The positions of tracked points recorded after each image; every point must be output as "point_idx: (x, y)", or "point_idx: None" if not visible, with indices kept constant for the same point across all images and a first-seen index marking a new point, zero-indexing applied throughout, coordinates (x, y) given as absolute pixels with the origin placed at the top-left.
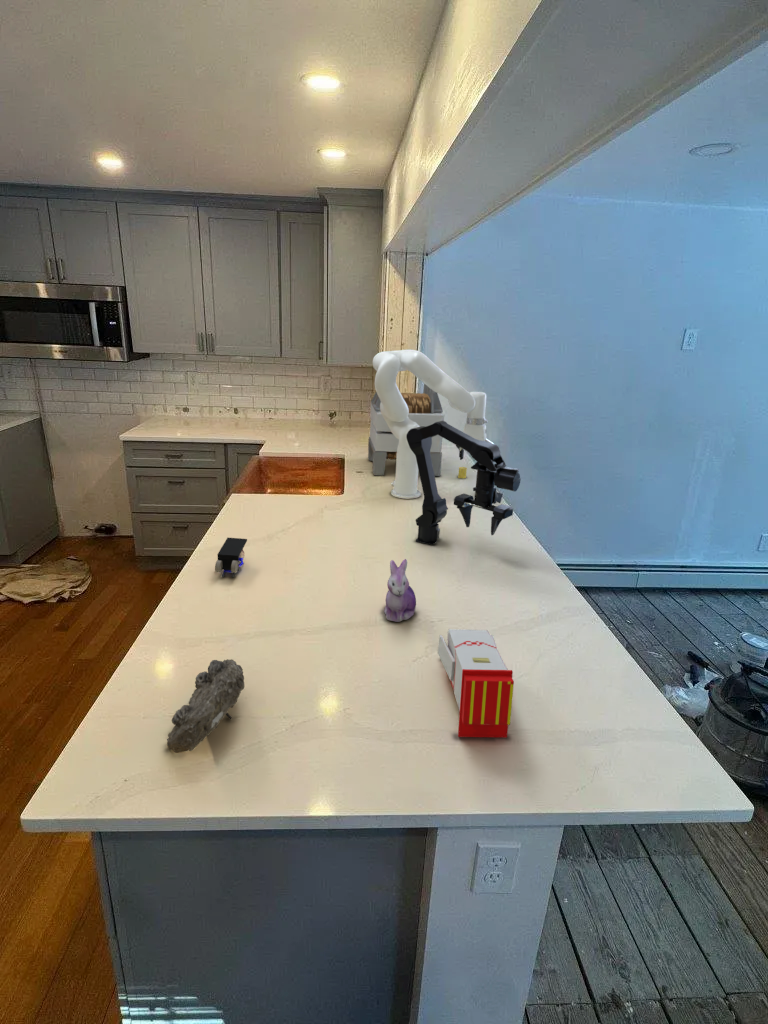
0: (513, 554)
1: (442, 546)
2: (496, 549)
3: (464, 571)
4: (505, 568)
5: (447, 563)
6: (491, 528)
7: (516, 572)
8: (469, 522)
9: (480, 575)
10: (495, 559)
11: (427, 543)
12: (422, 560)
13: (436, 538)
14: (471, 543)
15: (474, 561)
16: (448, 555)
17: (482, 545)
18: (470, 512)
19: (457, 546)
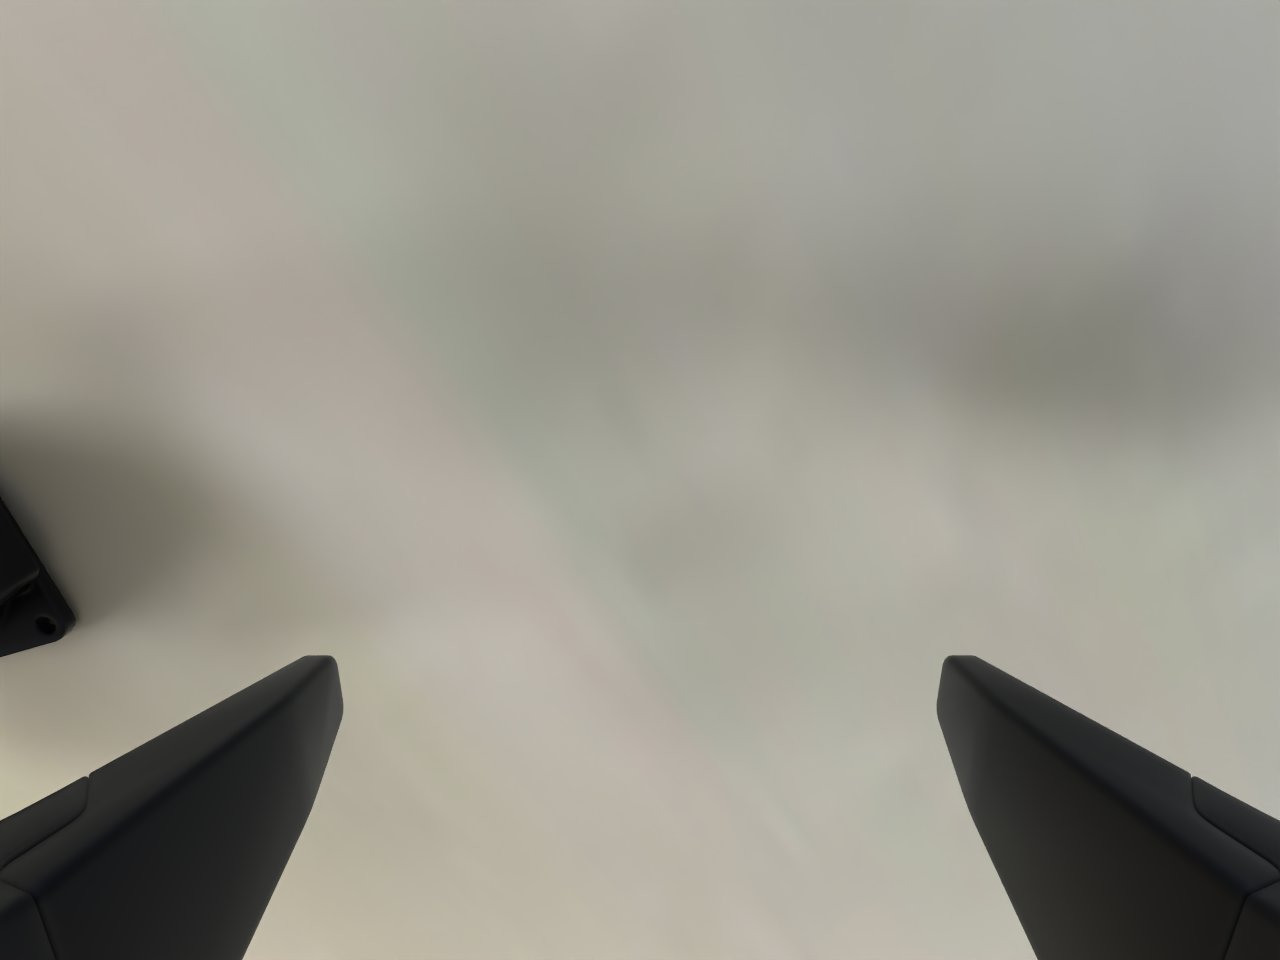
0: (1021, 50)
1: (167, 561)
2: (727, 77)
3: (759, 881)
4: (1084, 553)
5: (531, 857)
6: (1029, 909)
7: (1232, 556)
8: (292, 733)
9: (925, 851)
10: (878, 417)
11: (10, 652)
12: (324, 951)
13: (2, 598)
14: (324, 170)
15: (709, 642)
16: (404, 710)
17: (484, 105)
18: (74, 904)
19: (280, 423)
